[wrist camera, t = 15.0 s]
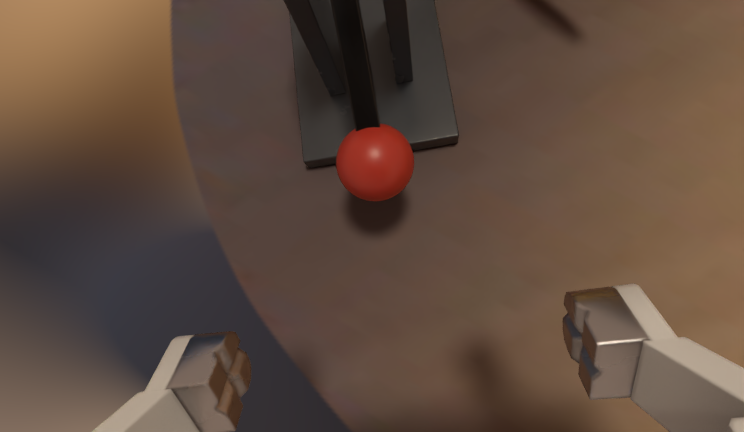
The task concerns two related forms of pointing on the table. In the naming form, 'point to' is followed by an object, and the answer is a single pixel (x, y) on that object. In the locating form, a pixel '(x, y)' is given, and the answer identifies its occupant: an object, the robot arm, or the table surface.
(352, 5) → the switch lever
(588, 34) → the table surface
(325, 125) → the switch bracket
